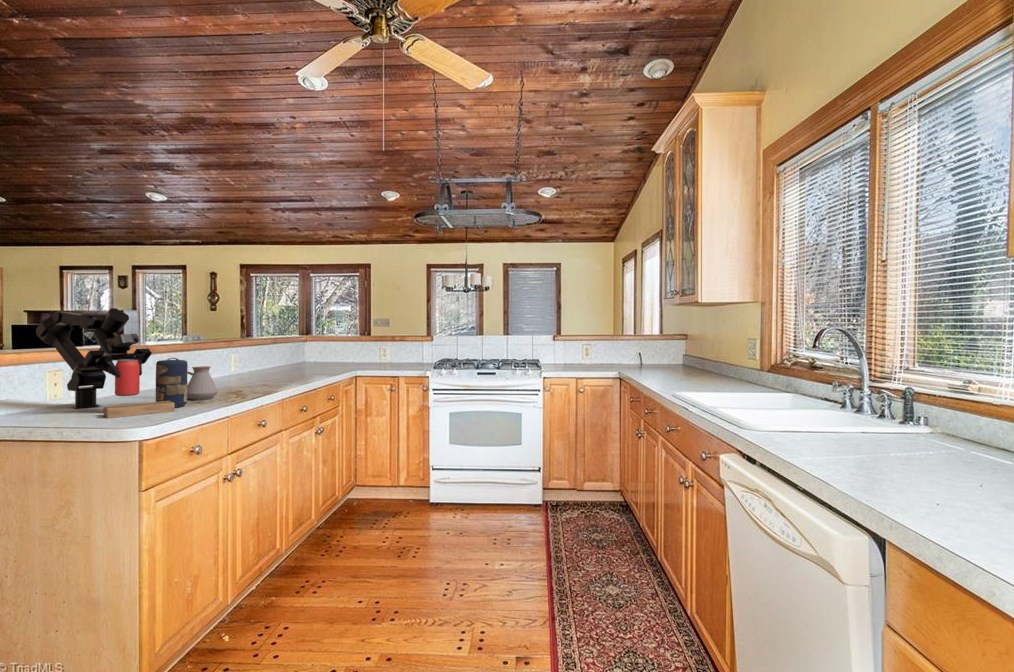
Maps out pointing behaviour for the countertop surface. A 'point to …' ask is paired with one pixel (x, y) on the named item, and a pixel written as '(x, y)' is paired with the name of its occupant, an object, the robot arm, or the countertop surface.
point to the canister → (171, 381)
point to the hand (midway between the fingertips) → (130, 375)
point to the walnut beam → (138, 409)
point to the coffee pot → (201, 384)
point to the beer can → (127, 377)
